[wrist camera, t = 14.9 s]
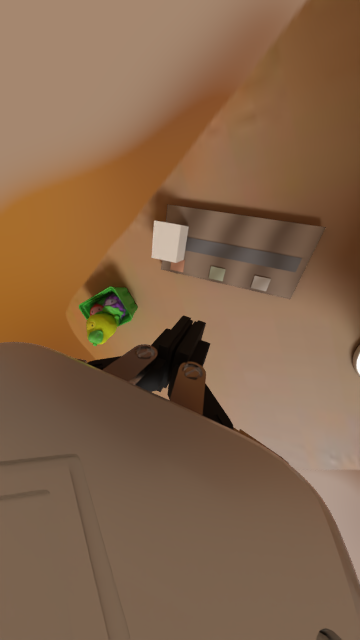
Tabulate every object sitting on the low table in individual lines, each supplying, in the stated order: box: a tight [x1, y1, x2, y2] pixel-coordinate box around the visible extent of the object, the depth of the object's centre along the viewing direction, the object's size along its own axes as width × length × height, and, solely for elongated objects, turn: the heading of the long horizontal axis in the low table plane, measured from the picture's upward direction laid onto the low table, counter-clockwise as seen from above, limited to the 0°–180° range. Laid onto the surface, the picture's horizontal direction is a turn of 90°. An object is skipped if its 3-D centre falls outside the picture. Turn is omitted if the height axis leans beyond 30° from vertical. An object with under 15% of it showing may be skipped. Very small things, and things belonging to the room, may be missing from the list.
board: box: [161, 204, 326, 299], centre depth 27 cm, size 22×10×2 cm, turn 81°
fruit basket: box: [79, 287, 138, 346], centre depth 35 cm, size 11×9×11 cm
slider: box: [152, 221, 189, 263], centre depth 26 cm, size 4×5×4 cm
